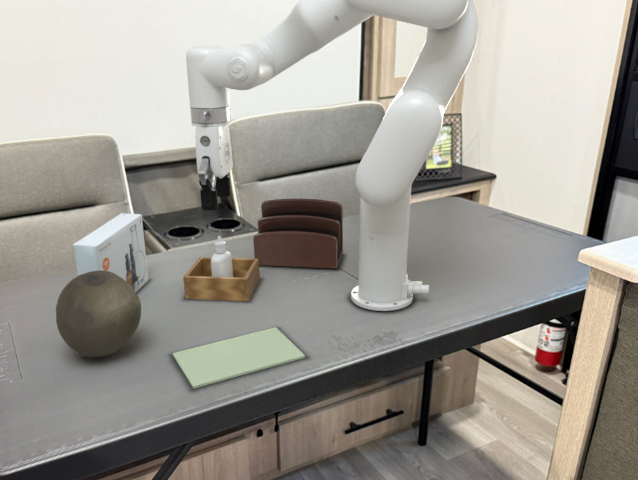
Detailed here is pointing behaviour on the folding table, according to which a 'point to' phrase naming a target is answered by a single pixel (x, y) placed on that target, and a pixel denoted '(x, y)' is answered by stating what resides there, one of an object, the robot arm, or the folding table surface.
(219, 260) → the eye dropper bottle
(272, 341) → the mat
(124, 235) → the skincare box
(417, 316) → the folding table surface
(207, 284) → the wooden box
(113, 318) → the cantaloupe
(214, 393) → the folding table surface
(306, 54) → the robot arm
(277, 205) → the letter holder
